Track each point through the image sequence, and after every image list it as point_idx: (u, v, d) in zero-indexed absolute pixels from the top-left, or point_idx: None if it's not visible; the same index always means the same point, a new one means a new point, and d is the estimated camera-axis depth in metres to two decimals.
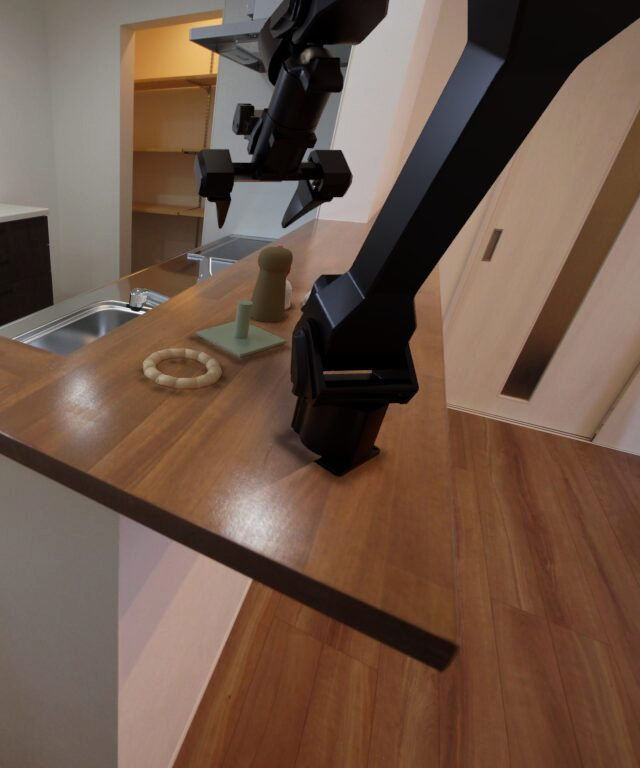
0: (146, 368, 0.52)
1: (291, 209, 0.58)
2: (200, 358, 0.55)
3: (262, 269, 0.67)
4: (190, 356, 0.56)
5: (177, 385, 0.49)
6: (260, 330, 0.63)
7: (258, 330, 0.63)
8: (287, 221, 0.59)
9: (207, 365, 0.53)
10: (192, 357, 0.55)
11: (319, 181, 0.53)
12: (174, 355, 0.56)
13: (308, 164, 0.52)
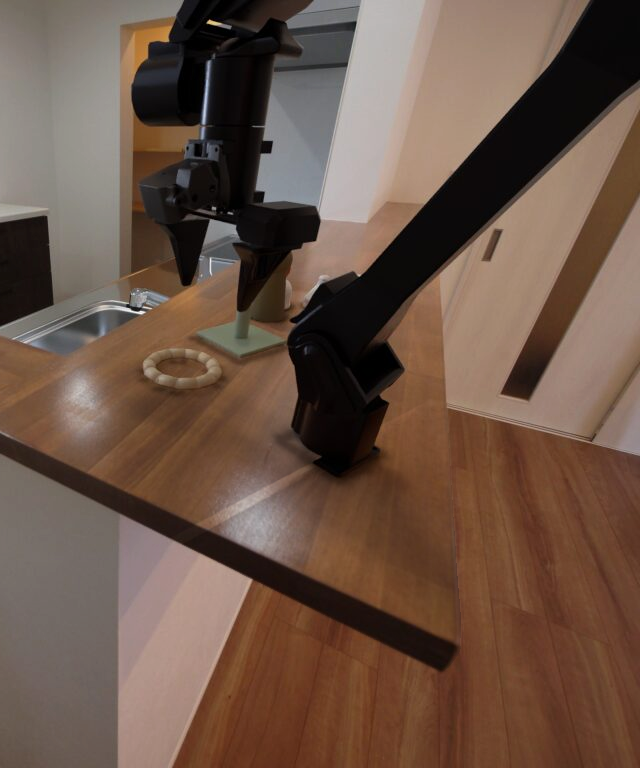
0: (146, 368, 0.52)
1: (189, 258, 0.47)
2: (200, 358, 0.55)
3: None
4: (190, 356, 0.56)
5: (177, 385, 0.49)
6: (260, 330, 0.63)
7: (258, 330, 0.63)
8: (194, 271, 0.48)
9: (207, 365, 0.53)
10: (192, 357, 0.55)
11: None
12: (174, 355, 0.56)
13: None
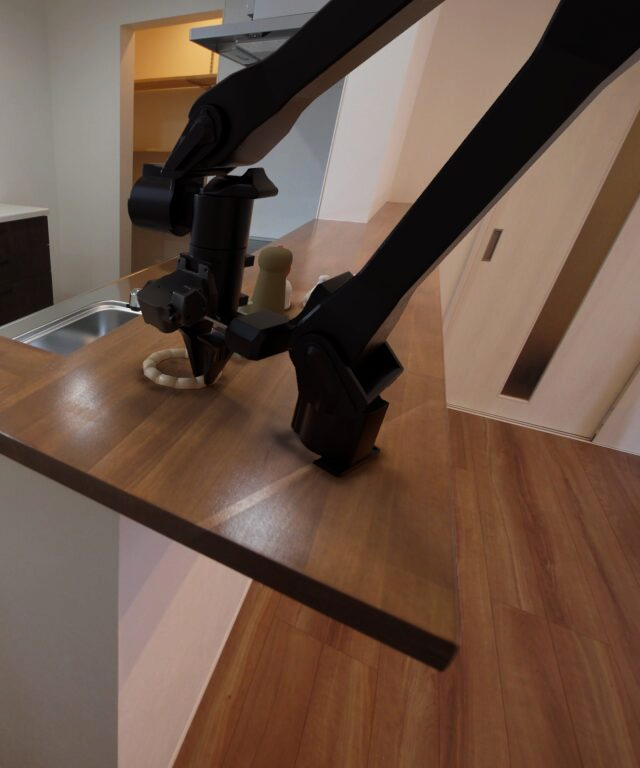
0: (146, 368, 0.52)
1: (201, 354, 0.49)
2: None
3: (262, 269, 0.67)
4: None
5: (177, 385, 0.49)
6: None
7: None
8: None
9: None
10: None
11: None
12: (174, 355, 0.56)
13: None
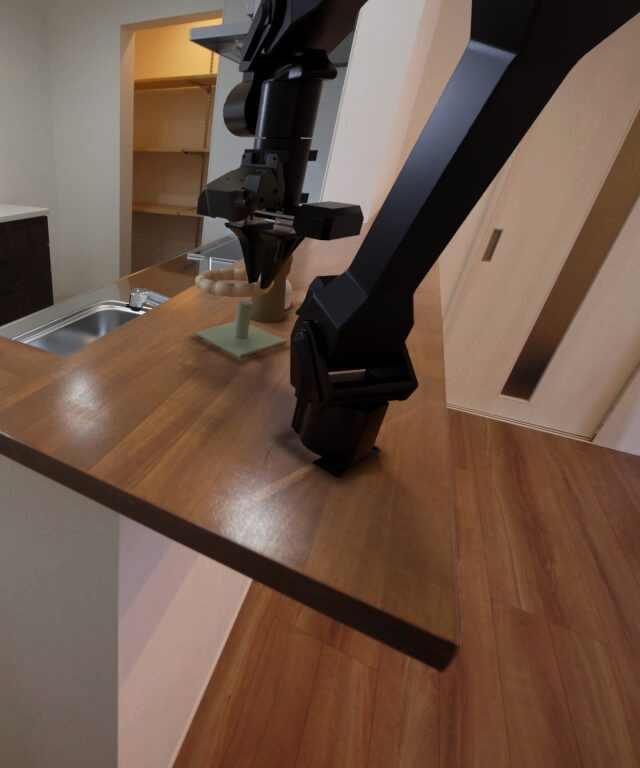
0: (200, 280, 0.54)
1: (257, 259, 0.51)
2: None
3: None
4: (239, 274, 0.57)
5: (234, 289, 0.51)
6: (260, 330, 0.63)
7: (258, 330, 0.63)
8: (260, 270, 0.52)
9: None
10: (241, 274, 0.57)
11: None
12: (223, 274, 0.58)
13: None
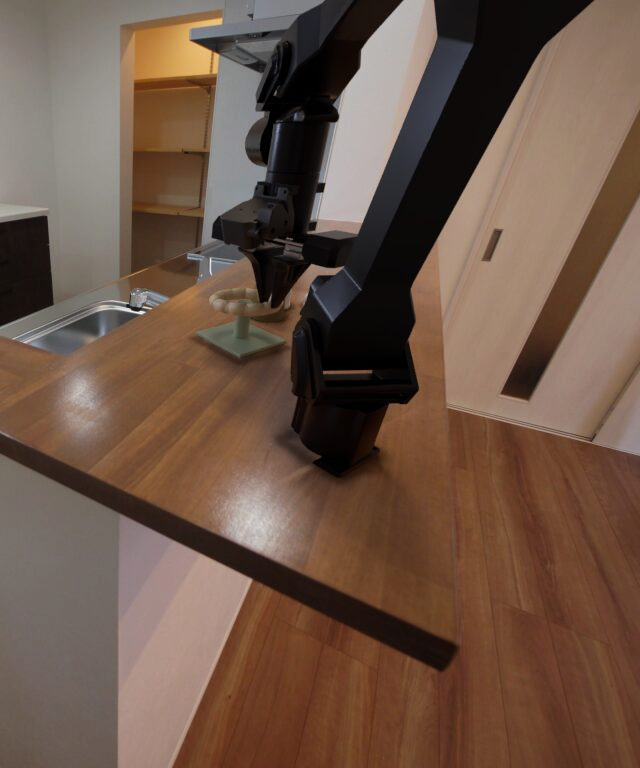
0: (214, 300, 0.57)
1: (268, 280, 0.54)
2: None
3: None
4: (250, 293, 0.61)
5: (246, 309, 0.54)
6: (260, 330, 0.63)
7: (258, 330, 0.63)
8: (271, 291, 0.55)
9: None
10: (252, 294, 0.61)
11: None
12: (235, 293, 0.61)
13: None
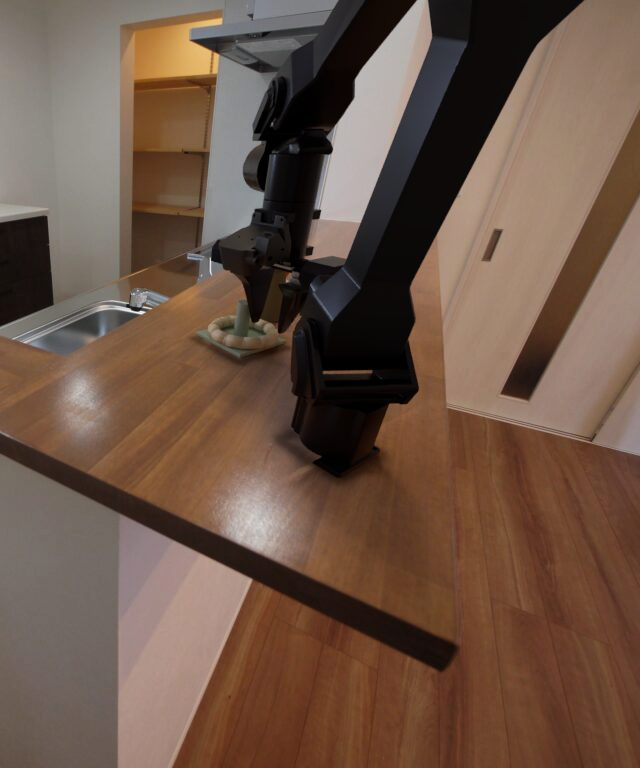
0: (213, 330, 0.59)
1: (259, 300, 0.57)
2: (257, 323, 0.62)
3: None
4: None
5: (243, 343, 0.56)
6: None
7: (258, 330, 0.63)
8: (262, 310, 0.58)
9: (265, 328, 0.61)
10: (250, 323, 0.63)
11: None
12: (233, 321, 0.63)
13: None
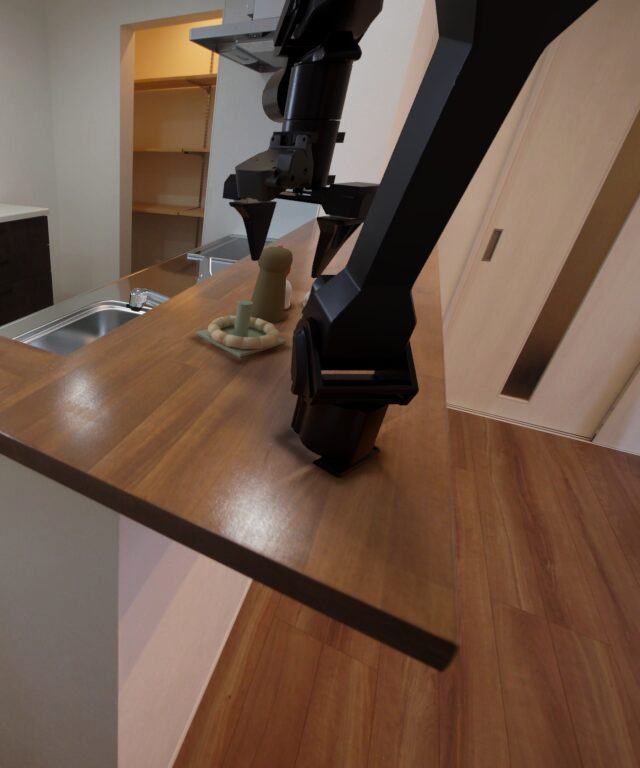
0: (213, 330, 0.59)
1: (259, 236, 0.55)
2: (257, 323, 0.62)
3: (262, 269, 0.67)
4: None
5: (243, 343, 0.56)
6: None
7: (258, 330, 0.63)
8: (262, 247, 0.56)
9: (265, 328, 0.61)
10: (250, 323, 0.63)
11: None
12: (233, 321, 0.63)
13: None
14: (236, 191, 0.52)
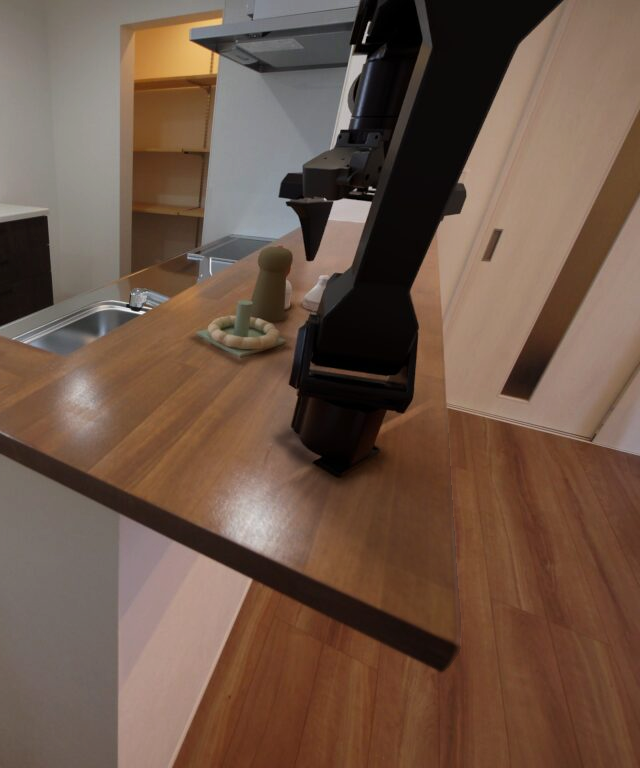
0: (213, 330, 0.59)
1: (316, 236, 0.54)
2: (257, 323, 0.62)
3: (262, 269, 0.67)
4: None
5: (243, 343, 0.56)
6: None
7: (258, 330, 0.63)
8: (318, 247, 0.55)
9: (265, 328, 0.61)
10: (250, 323, 0.63)
11: None
12: (233, 321, 0.63)
13: None
14: (295, 190, 0.51)
